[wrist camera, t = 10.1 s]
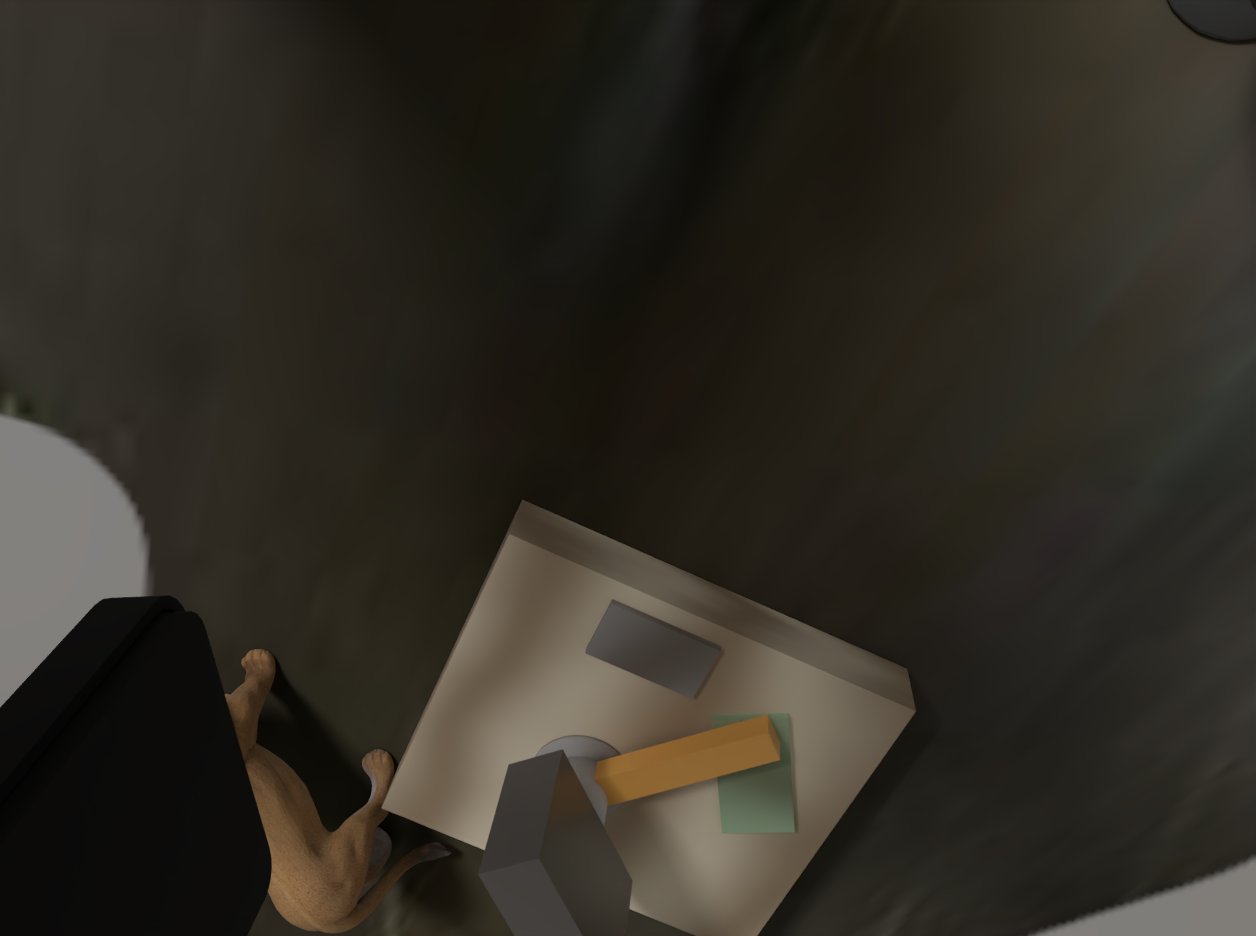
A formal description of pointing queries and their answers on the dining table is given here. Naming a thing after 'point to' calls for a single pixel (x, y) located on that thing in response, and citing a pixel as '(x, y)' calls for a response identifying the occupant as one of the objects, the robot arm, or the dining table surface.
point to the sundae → (1219, 17)
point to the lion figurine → (316, 826)
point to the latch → (593, 826)
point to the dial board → (652, 717)
